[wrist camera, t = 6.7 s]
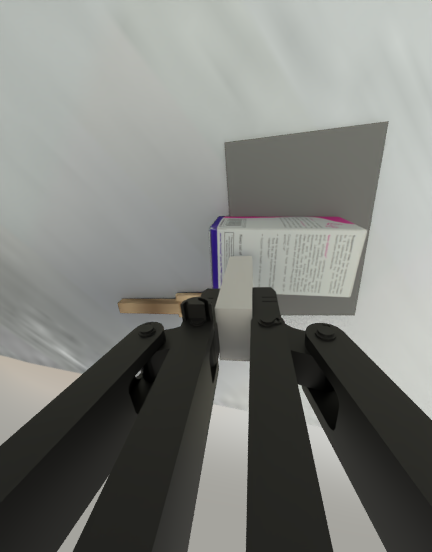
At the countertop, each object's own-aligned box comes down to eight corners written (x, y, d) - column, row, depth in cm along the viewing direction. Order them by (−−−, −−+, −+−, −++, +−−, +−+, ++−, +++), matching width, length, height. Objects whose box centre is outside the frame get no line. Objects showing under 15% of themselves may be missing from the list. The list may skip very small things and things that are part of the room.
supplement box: (211, 294, 20) (353, 299, 18) (207, 226, 17) (370, 224, 16) (220, 269, 25) (330, 271, 23) (218, 215, 23) (341, 212, 21)
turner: (126, 313, 30) (122, 318, 29) (121, 293, 29) (115, 297, 28) (244, 315, 27) (244, 321, 26) (243, 292, 26) (242, 298, 24)
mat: (236, 313, 27) (236, 315, 27) (225, 143, 20) (224, 142, 20) (353, 313, 25) (354, 315, 25) (385, 122, 18) (388, 121, 18)
